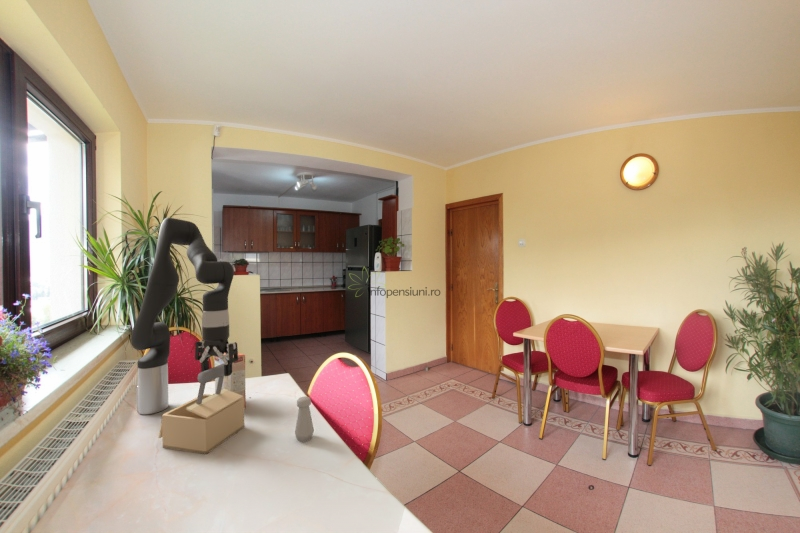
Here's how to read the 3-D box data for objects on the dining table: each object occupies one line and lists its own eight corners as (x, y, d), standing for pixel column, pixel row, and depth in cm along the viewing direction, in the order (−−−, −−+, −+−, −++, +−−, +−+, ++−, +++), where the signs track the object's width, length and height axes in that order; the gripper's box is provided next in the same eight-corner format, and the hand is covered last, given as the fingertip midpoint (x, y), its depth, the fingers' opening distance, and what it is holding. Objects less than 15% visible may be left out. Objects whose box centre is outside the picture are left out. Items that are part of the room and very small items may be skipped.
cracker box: (246, 407, 125) (245, 354, 125) (230, 413, 120) (229, 358, 120) (230, 398, 134) (229, 348, 133) (214, 403, 129) (213, 351, 128)
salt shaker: (317, 435, 105) (316, 395, 104) (306, 444, 99) (306, 403, 99) (302, 432, 106) (301, 393, 106) (291, 441, 101) (290, 400, 101)
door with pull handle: (183, 408, 97) (190, 374, 96) (221, 389, 112) (228, 359, 111) (206, 418, 95) (214, 383, 94) (242, 397, 110) (249, 367, 109)
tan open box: (156, 446, 99) (156, 414, 99) (200, 421, 115) (199, 393, 114) (206, 454, 95) (205, 420, 95) (244, 426, 110) (243, 397, 110)
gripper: (187, 325, 101) (188, 376, 101) (225, 327, 97) (226, 380, 98) (206, 320, 108) (207, 369, 108) (243, 322, 105) (244, 372, 105)
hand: (216, 374), depth 103 cm, fingers open, 8 cm apart
